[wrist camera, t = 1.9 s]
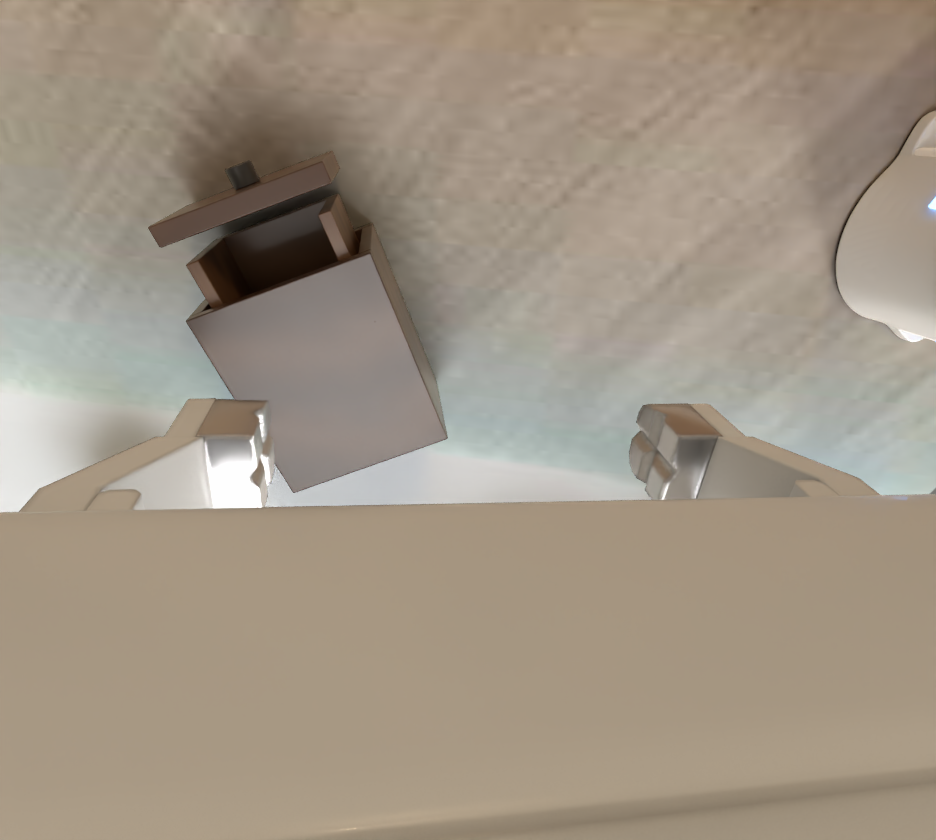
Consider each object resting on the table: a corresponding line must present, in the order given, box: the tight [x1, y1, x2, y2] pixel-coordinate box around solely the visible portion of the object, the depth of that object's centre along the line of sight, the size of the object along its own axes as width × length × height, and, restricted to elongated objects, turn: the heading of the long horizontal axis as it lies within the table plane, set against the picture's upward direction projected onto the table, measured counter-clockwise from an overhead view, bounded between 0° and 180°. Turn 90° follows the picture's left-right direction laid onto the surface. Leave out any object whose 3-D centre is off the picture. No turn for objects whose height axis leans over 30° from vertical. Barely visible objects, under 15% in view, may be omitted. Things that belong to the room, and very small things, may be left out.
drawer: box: [148, 151, 360, 308], centre depth 37 cm, size 14×10×7 cm
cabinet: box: [186, 223, 448, 493], centre depth 40 cm, size 14×12×9 cm
